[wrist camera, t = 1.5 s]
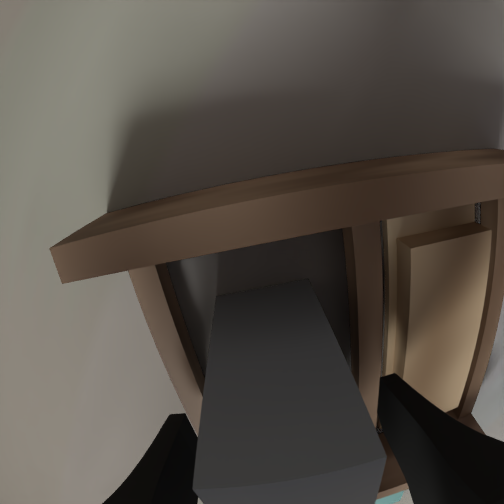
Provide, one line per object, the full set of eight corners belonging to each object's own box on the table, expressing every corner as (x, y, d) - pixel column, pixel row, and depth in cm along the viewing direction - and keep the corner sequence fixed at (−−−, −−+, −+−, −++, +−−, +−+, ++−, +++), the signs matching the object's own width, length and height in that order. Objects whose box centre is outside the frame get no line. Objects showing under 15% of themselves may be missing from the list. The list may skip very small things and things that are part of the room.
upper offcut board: (474, 221, 11) (491, 229, 10) (448, 393, 14) (457, 406, 13) (396, 238, 11) (410, 248, 10) (386, 415, 14) (394, 431, 13)
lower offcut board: (458, 193, 12) (474, 199, 11) (437, 392, 16) (445, 404, 15) (373, 207, 12) (386, 215, 11) (373, 414, 16) (379, 429, 15)
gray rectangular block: (308, 278, 12) (386, 456, 4) (323, 416, 15) (358, 553, 7) (216, 296, 12) (192, 489, 4) (255, 429, 15) (264, 569, 7)
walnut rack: (492, 148, 10) (559, 159, 6) (459, 411, 15) (485, 452, 12) (106, 213, 11) (49, 248, 7) (215, 472, 16) (213, 526, 12)
